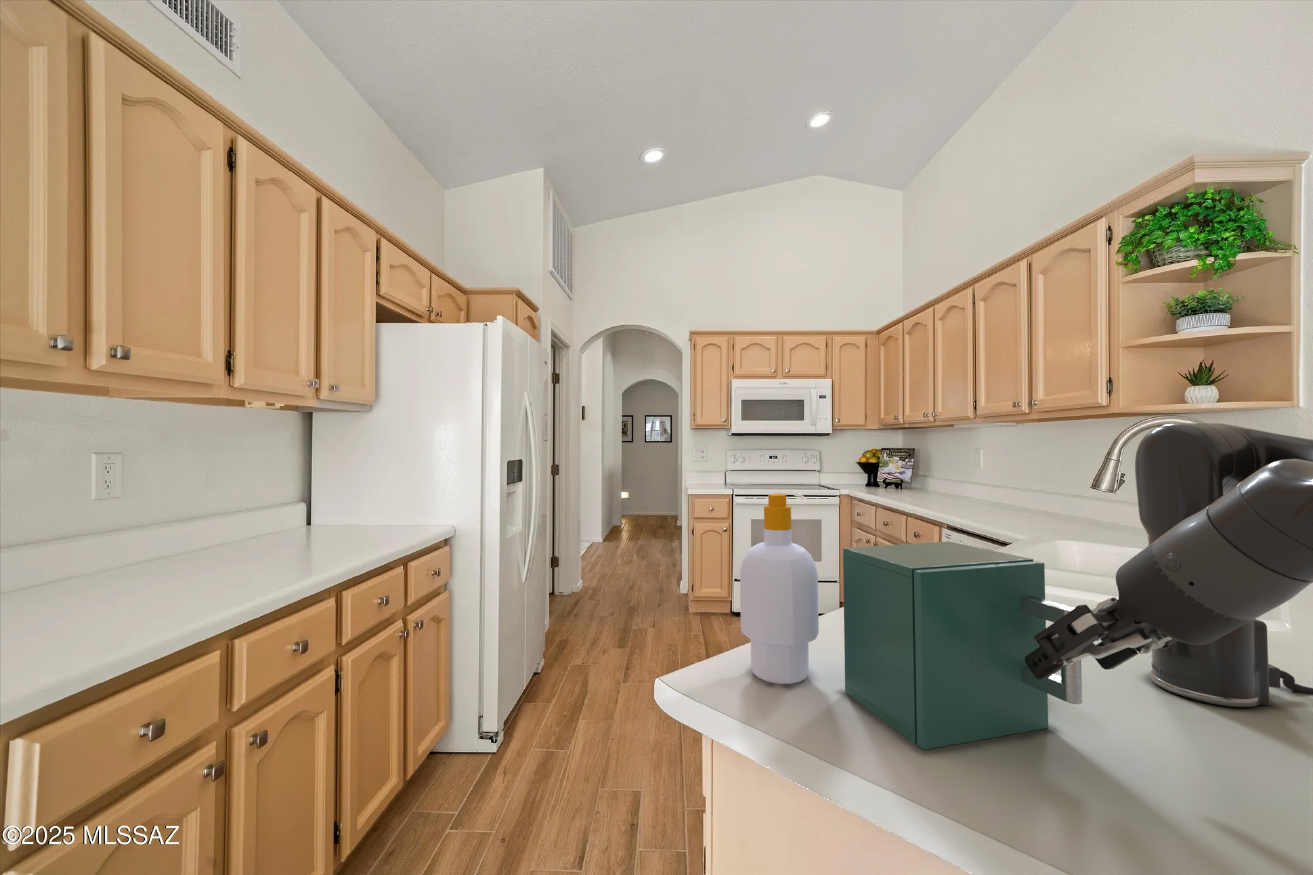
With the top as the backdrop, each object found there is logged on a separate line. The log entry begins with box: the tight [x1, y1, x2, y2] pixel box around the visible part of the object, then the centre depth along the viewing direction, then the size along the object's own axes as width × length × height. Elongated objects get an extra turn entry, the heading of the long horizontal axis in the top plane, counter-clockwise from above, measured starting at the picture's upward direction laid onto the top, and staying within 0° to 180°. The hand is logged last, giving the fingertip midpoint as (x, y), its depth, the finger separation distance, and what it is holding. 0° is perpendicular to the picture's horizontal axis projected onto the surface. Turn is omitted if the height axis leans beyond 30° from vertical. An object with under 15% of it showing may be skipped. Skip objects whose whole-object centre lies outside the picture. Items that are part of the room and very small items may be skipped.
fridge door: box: [914, 560, 1083, 751], centre depth 53 cm, size 6×16×18 cm, turn 105°
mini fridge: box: [842, 541, 1035, 745], centre depth 62 cm, size 12×16×18 cm
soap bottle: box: [739, 492, 820, 685], centre depth 72 cm, size 10×10×24 cm
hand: (1066, 664), depth 53 cm, fingers open, 8 cm apart
